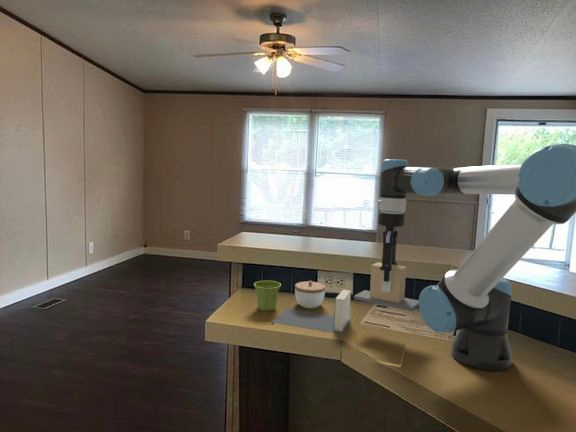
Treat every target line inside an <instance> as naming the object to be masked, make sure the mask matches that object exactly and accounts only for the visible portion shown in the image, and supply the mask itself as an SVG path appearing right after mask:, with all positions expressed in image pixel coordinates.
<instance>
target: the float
mask: <svg viewBox="0 0 576 432" xmlns="http://www.w3.org/2000/svg"><path fill="white" fill-rule="evenodd" d="M370 267H371V268H370V288H369V290H366V289H365V290H362V291H361V292H358V293H357V294H355V295H353V300H356V301H360V302H361V301H362V302H365V303H371V304H375V305H381V306H386V307H391V308H394V309H395V308H396V309H401V310H404V311H409V312H413V311H414V310H415V309H416V308H417V307H419V299H413V298H407V297H405V292H406V291H405V290H406V279H407V278H406V276H407V266H404V265H399V264H397V265H392V280H391V292H383V291H381V285H382V270H380V267H382V262H378V261H377V262H375V263H373V264H371V266H370Z"/></svg>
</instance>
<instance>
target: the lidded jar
mask: <svg viewBox="0 0 576 432" xmlns="http://www.w3.org/2000/svg"><path fill="white" fill-rule="evenodd" d="M325 294H326V284H323V283H321V282H316V281H312V280H308V281H299V282H297V283H295V285H294V296H295V300H296V302H297V303H298V305H299V306H300V307H302V308H305V309H316V308H318V307H320V306H321V305H322V303H323V301H324V299H325Z"/></svg>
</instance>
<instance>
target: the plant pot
mask: <svg viewBox="0 0 576 432" xmlns="http://www.w3.org/2000/svg"><path fill="white" fill-rule="evenodd" d="M253 286H254V288H255V291H256V299H257V308H258V309H259V310H260V311H263V312H264V311H265V312H269V311H274V310H276V308H277V303H278V302H277V301H278V295H279V291H280V289H281V286H282V283H281V282H278V281H276V280H259V281H255V282H254V283H253Z"/></svg>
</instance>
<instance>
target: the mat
mask: <svg viewBox="0 0 576 432" xmlns="http://www.w3.org/2000/svg"><path fill="white" fill-rule="evenodd" d="M352 321H353V318H350V317H349V322H348V323H347V325H346V326H345V328H344V330H343V331H336V330H334V315H331V314H330V315H329V314H325V313H324V314H323V313H317V312H311V311H304V310H297V309H293V308H286V309H284V310H283V312H281V313H280V314H279V315H278V316H277V317H276V318H274V319H273V320H272V321H271V325H274V324H280V325H286V326H290V327H291V326H292V327H297V328H303V329H308V330H315V331H321V332H327V333H334V334H338V335H344V334H345V332H346V331H347V329H348V328H349V325H350V324H351V323H352Z"/></svg>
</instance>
